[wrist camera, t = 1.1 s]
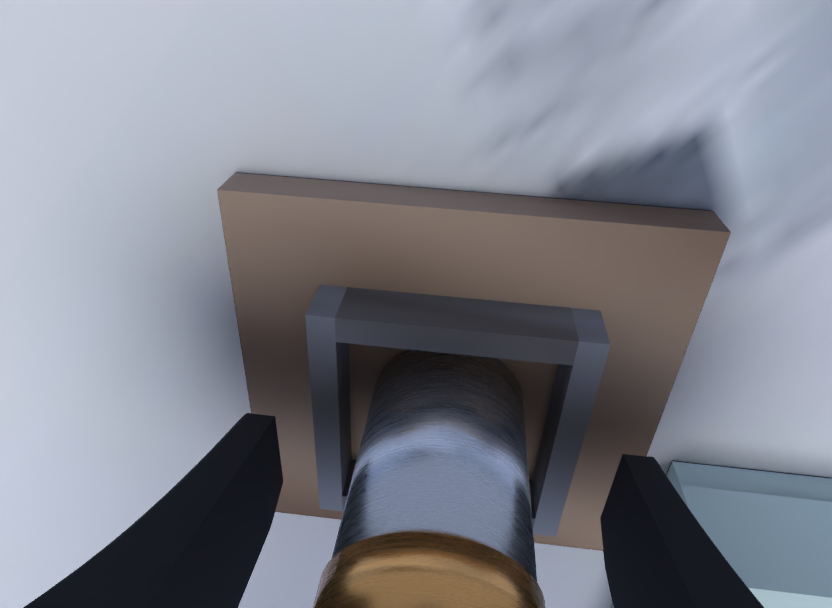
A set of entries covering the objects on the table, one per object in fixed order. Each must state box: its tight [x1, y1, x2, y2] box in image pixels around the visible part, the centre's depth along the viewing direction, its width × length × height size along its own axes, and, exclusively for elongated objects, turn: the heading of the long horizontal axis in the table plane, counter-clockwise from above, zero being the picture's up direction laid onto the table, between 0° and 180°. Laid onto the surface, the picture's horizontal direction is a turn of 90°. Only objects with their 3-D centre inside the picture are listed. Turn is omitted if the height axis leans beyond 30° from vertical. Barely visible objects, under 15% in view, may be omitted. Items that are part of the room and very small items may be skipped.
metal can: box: [313, 349, 545, 608], centre depth 11 cm, size 4×4×6 cm
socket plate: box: [217, 173, 731, 551], centre depth 14 cm, size 10×10×2 cm
